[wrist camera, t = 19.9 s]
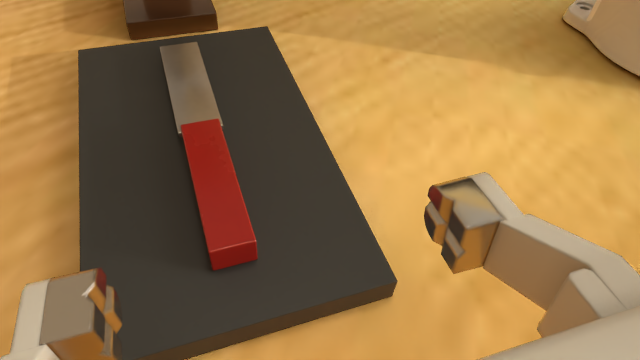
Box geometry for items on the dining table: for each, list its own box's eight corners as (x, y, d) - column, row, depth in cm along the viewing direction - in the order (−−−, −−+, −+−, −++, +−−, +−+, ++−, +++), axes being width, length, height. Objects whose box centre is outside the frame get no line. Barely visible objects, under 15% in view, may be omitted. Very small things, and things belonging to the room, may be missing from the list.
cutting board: (392, 296, 23) (397, 281, 22) (92, 388, 19) (80, 375, 18) (267, 42, 38) (267, 26, 37) (84, 67, 34) (78, 50, 33)
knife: (262, 259, 22) (261, 239, 21) (208, 273, 22) (203, 254, 20) (198, 53, 34) (195, 33, 32) (162, 58, 33) (157, 38, 32)
